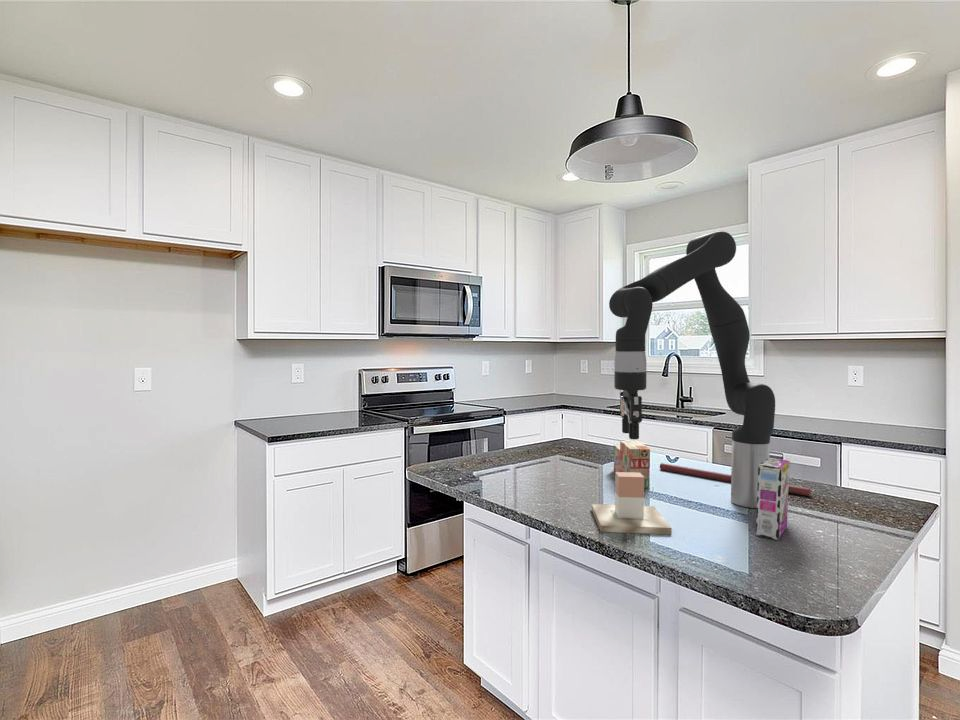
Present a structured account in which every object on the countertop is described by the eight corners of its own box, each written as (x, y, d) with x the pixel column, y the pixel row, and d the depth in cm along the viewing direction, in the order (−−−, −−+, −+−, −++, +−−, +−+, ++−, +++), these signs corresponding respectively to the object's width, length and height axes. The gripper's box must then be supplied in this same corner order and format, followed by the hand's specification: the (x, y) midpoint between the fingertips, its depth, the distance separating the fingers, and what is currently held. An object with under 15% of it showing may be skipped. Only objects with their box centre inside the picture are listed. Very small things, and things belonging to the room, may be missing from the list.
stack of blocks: (613, 471, 178) (613, 435, 178) (631, 471, 178) (631, 435, 178) (629, 488, 157) (629, 448, 157) (649, 488, 157) (650, 448, 156)
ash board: (654, 511, 134) (654, 505, 134) (671, 534, 118) (671, 527, 118) (591, 509, 136) (592, 503, 136) (600, 531, 120) (600, 524, 120)
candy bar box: (780, 541, 114) (781, 468, 114) (755, 536, 117) (756, 464, 117) (788, 527, 123) (790, 459, 122) (765, 523, 126) (766, 456, 126)
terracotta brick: (639, 492, 129) (639, 472, 129) (643, 497, 124) (644, 477, 124) (615, 491, 129) (615, 472, 129) (618, 497, 125) (618, 476, 125)
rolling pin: (811, 496, 150) (811, 486, 150) (808, 498, 148) (808, 488, 147) (662, 469, 181) (662, 461, 181) (658, 471, 179) (658, 462, 179)
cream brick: (639, 512, 129) (639, 492, 129) (643, 518, 124) (643, 497, 124) (614, 511, 129) (615, 491, 129) (618, 517, 125) (618, 497, 125)
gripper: (653, 371, 118) (653, 441, 119) (639, 368, 132) (639, 431, 133) (620, 371, 119) (619, 441, 119) (609, 368, 133) (609, 431, 134)
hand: (630, 435), depth 126 cm, fingers open, 8 cm apart
